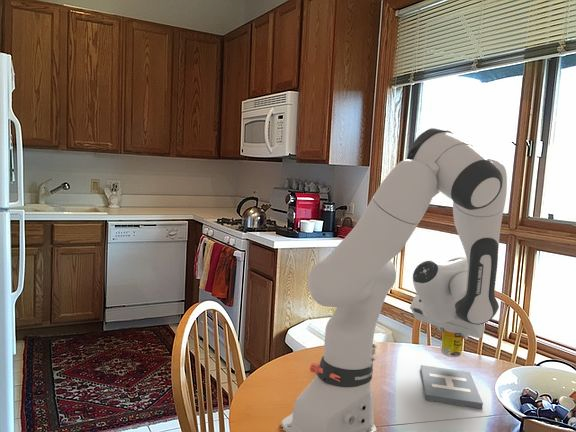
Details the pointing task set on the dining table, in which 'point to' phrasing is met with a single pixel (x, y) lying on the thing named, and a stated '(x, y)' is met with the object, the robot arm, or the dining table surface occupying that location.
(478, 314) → the robot arm
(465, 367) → the dining table surface
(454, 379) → the gray board
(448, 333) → the supplement bottle
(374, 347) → the pale yellow block
